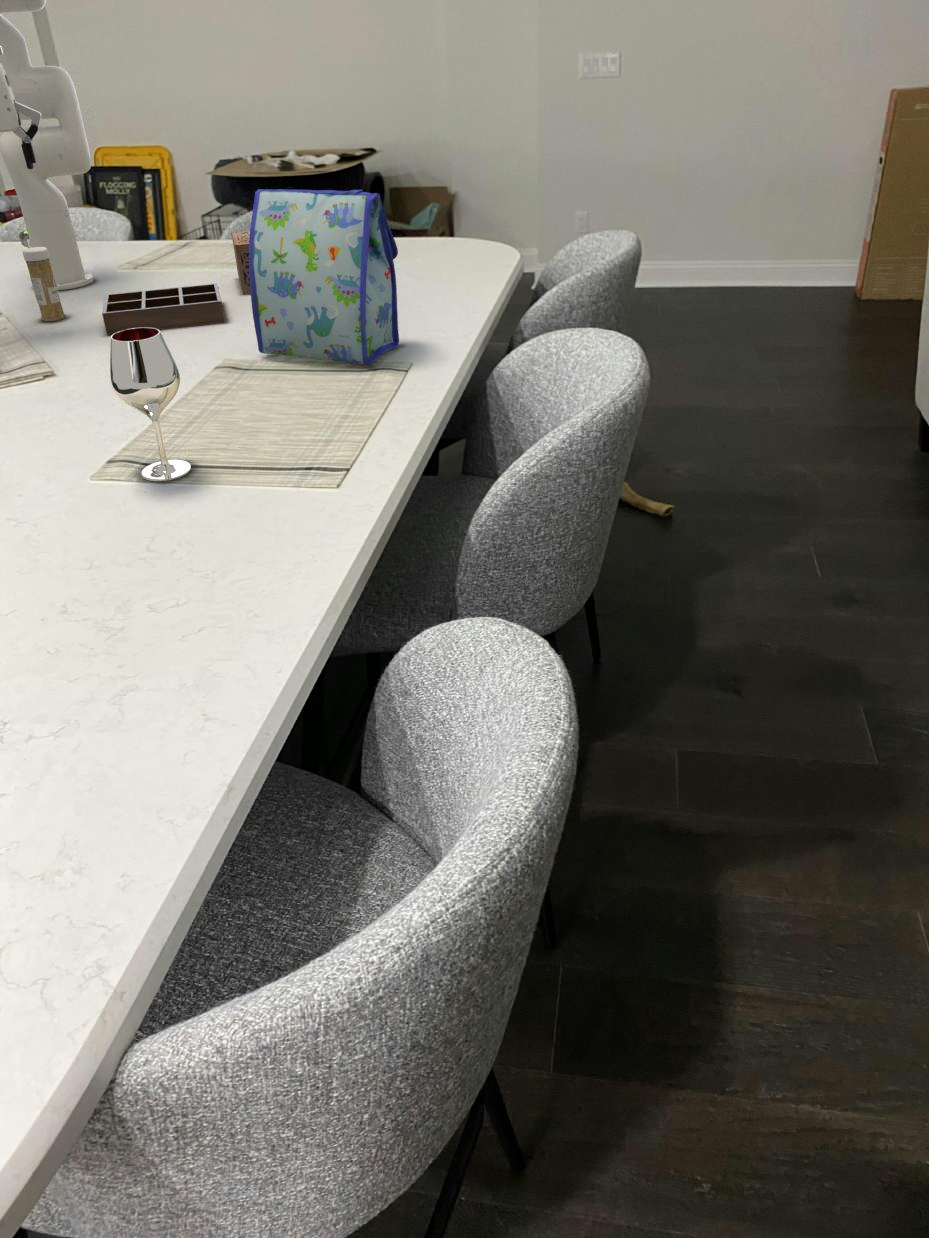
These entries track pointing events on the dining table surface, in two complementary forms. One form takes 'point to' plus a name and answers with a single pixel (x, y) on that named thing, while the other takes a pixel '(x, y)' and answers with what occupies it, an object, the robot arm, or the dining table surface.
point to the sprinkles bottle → (43, 283)
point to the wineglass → (147, 387)
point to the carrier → (163, 308)
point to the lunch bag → (323, 275)
